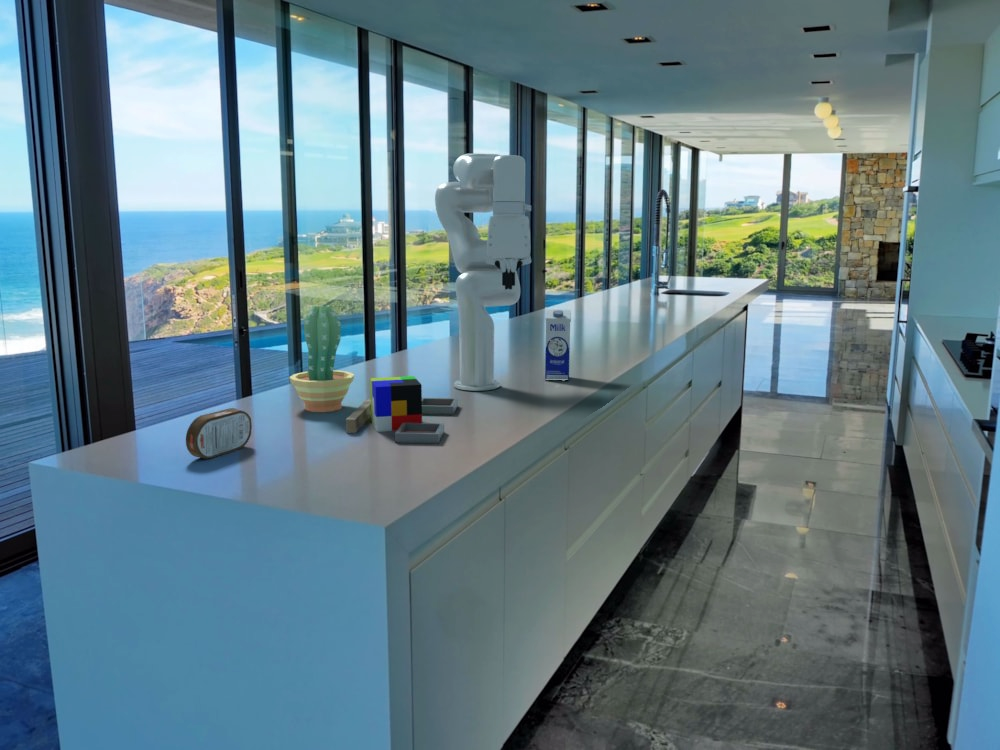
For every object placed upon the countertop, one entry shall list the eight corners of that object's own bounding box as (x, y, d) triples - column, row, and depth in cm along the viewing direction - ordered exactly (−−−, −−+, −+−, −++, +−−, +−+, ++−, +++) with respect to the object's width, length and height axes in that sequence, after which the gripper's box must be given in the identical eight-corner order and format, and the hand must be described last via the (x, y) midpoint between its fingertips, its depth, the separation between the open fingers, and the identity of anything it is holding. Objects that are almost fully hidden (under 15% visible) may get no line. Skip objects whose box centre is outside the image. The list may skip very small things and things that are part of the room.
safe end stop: (367, 411, 195) (366, 399, 195) (375, 411, 195) (375, 399, 195) (346, 432, 176) (345, 419, 175) (355, 433, 176) (355, 419, 175)
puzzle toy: (376, 432, 177) (375, 386, 175) (371, 421, 187) (370, 378, 185) (422, 429, 180) (421, 384, 178) (414, 418, 189) (413, 376, 187)
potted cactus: (365, 403, 204) (363, 303, 200) (337, 417, 190) (333, 310, 185) (310, 399, 208) (306, 301, 204) (278, 412, 194) (273, 307, 189)
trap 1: (403, 431, 177) (402, 422, 177) (444, 432, 176) (444, 423, 176) (395, 442, 168) (394, 433, 168) (438, 443, 168) (438, 434, 167)
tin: (244, 443, 168) (242, 403, 166) (255, 445, 166) (253, 405, 165) (185, 462, 155) (182, 419, 153) (197, 464, 153) (194, 421, 152)
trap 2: (421, 405, 202) (421, 397, 201) (457, 406, 201) (457, 398, 201) (415, 414, 193) (415, 406, 192) (453, 414, 192) (453, 406, 192)
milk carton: (569, 377, 239) (571, 308, 235) (569, 381, 232) (570, 311, 228) (545, 376, 239) (546, 308, 235) (544, 381, 233) (545, 311, 229)
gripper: (541, 210, 193) (540, 287, 197) (478, 210, 194) (478, 287, 198) (540, 210, 186) (539, 290, 190) (475, 210, 187) (475, 290, 191)
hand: (508, 288), depth 194 cm, fingers closed
